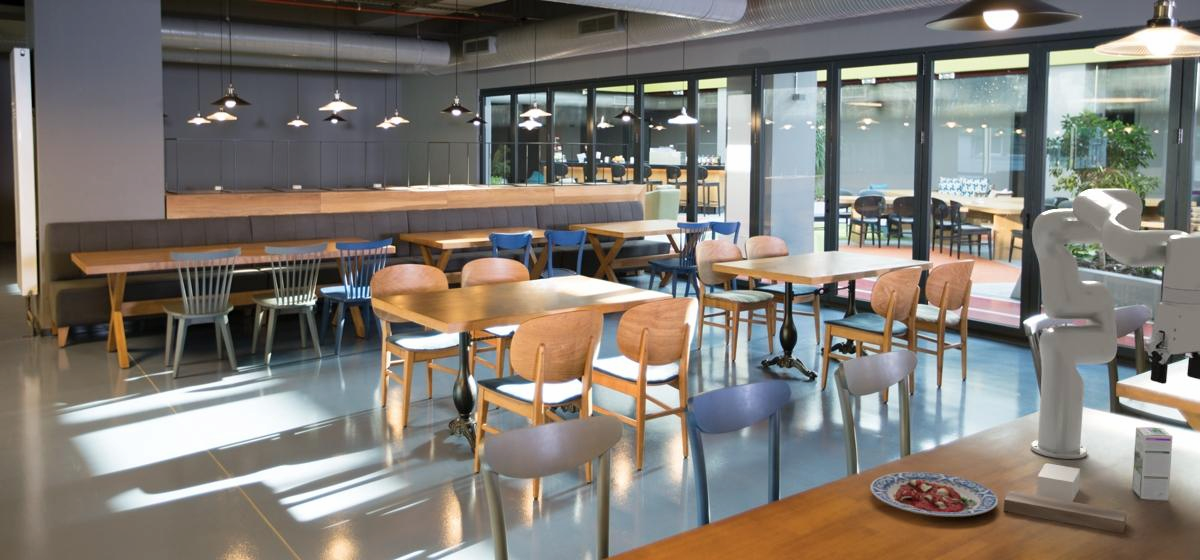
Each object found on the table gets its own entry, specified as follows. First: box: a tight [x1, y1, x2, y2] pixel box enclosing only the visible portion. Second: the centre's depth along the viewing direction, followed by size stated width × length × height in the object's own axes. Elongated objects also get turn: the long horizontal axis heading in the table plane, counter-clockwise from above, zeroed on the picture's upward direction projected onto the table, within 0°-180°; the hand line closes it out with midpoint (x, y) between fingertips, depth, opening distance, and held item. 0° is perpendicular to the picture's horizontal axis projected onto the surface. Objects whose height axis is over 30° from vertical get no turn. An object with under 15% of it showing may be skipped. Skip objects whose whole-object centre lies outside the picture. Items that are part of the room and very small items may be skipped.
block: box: [1035, 463, 1081, 502], centre depth 210 cm, size 10×7×5 cm
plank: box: [1003, 490, 1128, 534], centre depth 197 cm, size 6×22×2 cm, turn 57°
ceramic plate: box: [870, 471, 999, 518], centre depth 206 cm, size 26×26×3 cm
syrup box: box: [1132, 426, 1173, 501], centre depth 207 cm, size 6×6×14 cm
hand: (1176, 379), depth 194 cm, fingers open, 9 cm apart
